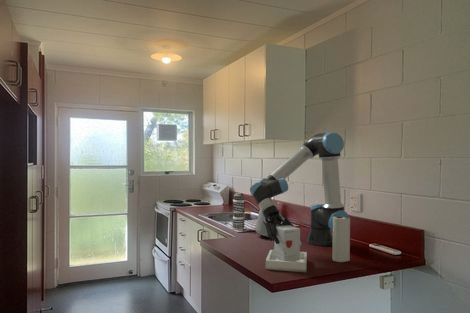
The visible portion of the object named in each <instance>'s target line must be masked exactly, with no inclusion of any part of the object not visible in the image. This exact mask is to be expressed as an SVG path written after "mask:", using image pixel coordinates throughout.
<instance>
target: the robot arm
mask: <svg viewBox="0 0 470 313" xmlns="http://www.w3.org/2000/svg"><path fill="white" fill-rule="evenodd" d="M344 148H345V142H344V138H343V137H342V135H340V134H339V133H338V132H332V131H331V132H330V131H329V132H323V133H322V132H321V133H316V134H314V135H313V136H311V137H310V138H309V139H307V140H306V141H305V142H304V143H302V144H301V146H300V149H298V150H297V151H296V152H295V153H293V154H292V156H290V157H289V158H288V159H287V160H286V161H284V162H283V163H282V164H281V165H280V166H278V167H277V168H275V170H274V171H272V173H270V174H269V175H268V176H267V177H264V178H262V179H260V180H259V182H254V183H253V184H252V185H251V186H250V188H249V192H250V195H251V196H252V198H253V200H254V201H255V203H256V204H257V206H258V208H259V211H260V210H261V211H262V213H263V215H264V217H265V219H264V221H263V222H264V224H265V227H266V230H267V234H268V237H267V238H268V239H270V240H273V241H275V242H276V244H277V245H278V246H279V248H280V250H281V251H283V250H284V249H285V246H284V244H283V242H282V241H281V239H280V237H279V236H277V233H276V226H287V225H291V226H294V225H293V223H292V222H291V221H290V220H289V219H288V218H287V216H286V215H285V214H283V215H282V217H281V216H280V215H279V213H280V211H278V210H279V209H278V207H277V206H276V204H275V203H274V202H275V201H273V198H274V197H277V196H279V195H281V194H284V193H286V192H288V191H289V184H288V181H287V180H286V179H288V177H290V175H292V174H293V173H295V171H296V170H297V169H299V168H300V167H301V166H302V165H303V164H304V163H306V162H307V161H308V160H309V159H313V158H314V157H315V156H317V155H318V159H320V160H321V166H322V176H323V178H322V179H323V191H324V203H319V204H317V203H315V204H313V203H312V205H311V206H310V230H309V233H308V236H307V243H308V244H311V245H314V246H318V247H319V246H320V247H321V246H322V247H325V246H326V247H328V246H333V232H332V231H333V217H344V218H350V216H349V214H348V213H347V212H346V211H345V205H344V203H342V198H341V184H340V183H341V182H340V170H339V168H340V166H339V159H340V157H342V156H341V155H342V154H341V152H342V151H343V150H344ZM272 197H273V198H272ZM270 224H271V225H270ZM302 244H303V243H302V242H301V241H300V246H301V245H302Z"/></svg>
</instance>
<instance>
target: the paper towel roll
mask: <svg viewBox="0 0 470 313" xmlns="http://www.w3.org/2000/svg"><path fill="white" fill-rule="evenodd" d="M332 236H333V245H332V251H331V252H332V259H331V260H332V261H333V262H337V263H344V262H350V261H351V260H350V257H351V256H350V255H351V253H350V251H351V250H350V248H351V218H350V217H349V218H344V217H333V230H332Z"/></svg>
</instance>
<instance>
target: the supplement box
mask: <svg viewBox="0 0 470 313" xmlns="http://www.w3.org/2000/svg"><path fill="white" fill-rule="evenodd" d="M276 233H277V236H279V237H280V239H281V241H282V242H283V244H284V246H285V249H284V250H283V251H281V250H280V248H279V246H278V245H277V244H276V242H275V241H274V240H273V241H274V246H273V250H274V257H275V258H277V259H279V260H281V261H298V260H300V252H301V245H300V242H301V228H299V227H296V226H295V225H293V226H291V225H287V226H276Z"/></svg>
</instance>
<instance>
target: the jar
mask: <svg viewBox="0 0 470 313" xmlns="http://www.w3.org/2000/svg"><path fill="white" fill-rule="evenodd" d="M271 199H274V197H272V198H271ZM279 203H280V202H278V203H277V204H279ZM278 211H279V209H278ZM279 215H280V216H281V217H283V215H282V213H281V212H280V211H279ZM264 219H265V217H264V215H263V213H262V211H261V210H260V209H259V211H258V215H257V220H256V225H255V230H254V231H255V232H256V233H257V234H258V235H261V236H264V237H267V238H269V237H268V234H267V230H266V227H265V224H264V222H263V221H264ZM270 225H271V224H270Z"/></svg>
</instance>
